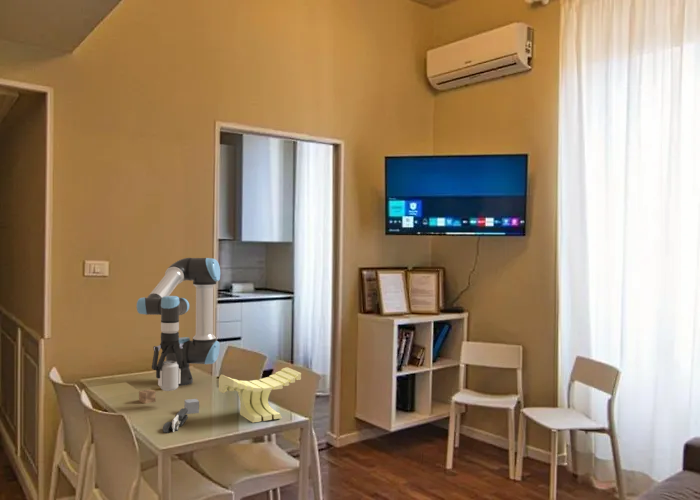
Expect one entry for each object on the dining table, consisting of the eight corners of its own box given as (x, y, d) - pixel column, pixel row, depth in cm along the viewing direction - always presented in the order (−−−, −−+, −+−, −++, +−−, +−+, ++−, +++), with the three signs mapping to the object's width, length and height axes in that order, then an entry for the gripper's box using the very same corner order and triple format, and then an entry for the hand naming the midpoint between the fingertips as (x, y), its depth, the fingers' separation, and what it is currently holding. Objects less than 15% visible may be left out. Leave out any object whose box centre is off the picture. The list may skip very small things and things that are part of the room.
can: (181, 388, 264) (182, 360, 263) (171, 392, 256) (171, 364, 256) (167, 386, 266) (167, 359, 266) (156, 390, 259) (156, 362, 259)
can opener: (177, 433, 226) (177, 420, 226) (160, 433, 226) (160, 420, 226) (191, 419, 245) (191, 406, 245) (175, 418, 245) (176, 406, 245)
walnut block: (148, 400, 272) (148, 389, 272) (155, 402, 269) (155, 391, 269) (139, 402, 268) (139, 391, 268) (145, 404, 265) (145, 393, 265)
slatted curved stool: (283, 406, 266) (284, 366, 266) (300, 415, 252) (301, 372, 252) (218, 415, 250) (218, 372, 249) (232, 425, 236) (233, 380, 236)
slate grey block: (196, 410, 257) (196, 398, 257) (198, 413, 253) (199, 401, 253) (184, 411, 255) (184, 399, 255) (186, 414, 250) (187, 402, 250)
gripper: (188, 328, 270) (188, 379, 270) (143, 332, 258) (142, 385, 258) (195, 331, 264) (195, 382, 264) (149, 335, 252) (148, 389, 252)
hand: (169, 384), depth 261 cm, fingers closed on can, 7 cm apart
